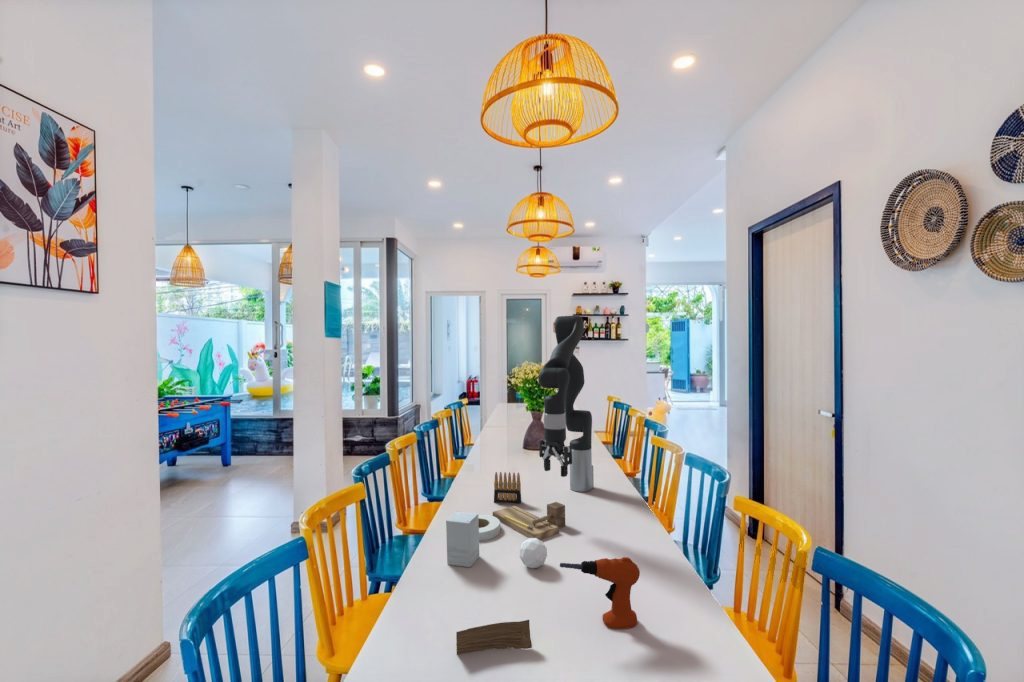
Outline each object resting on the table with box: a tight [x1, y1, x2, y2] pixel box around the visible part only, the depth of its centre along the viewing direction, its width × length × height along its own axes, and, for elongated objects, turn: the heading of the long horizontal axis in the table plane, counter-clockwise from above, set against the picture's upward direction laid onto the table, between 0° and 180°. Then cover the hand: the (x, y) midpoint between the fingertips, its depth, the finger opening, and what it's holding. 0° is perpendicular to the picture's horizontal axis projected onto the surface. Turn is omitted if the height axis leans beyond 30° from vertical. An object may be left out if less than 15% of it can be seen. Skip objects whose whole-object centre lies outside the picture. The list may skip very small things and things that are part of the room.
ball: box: [519, 538, 548, 569], centre depth 127 cm, size 8×8×8 cm
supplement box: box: [445, 511, 480, 568], centre depth 131 cm, size 7×7×13 cm
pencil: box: [504, 515, 533, 530], centre depth 152 cm, size 1×14×1 cm, turn 41°
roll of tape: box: [477, 513, 501, 541], centre depth 151 cm, size 16×15×3 cm
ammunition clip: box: [493, 471, 522, 505], centre depth 177 cm, size 11×2×12 cm, turn 82°
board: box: [492, 505, 559, 540], centre depth 155 cm, size 10×24×2 cm, turn 36°
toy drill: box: [559, 556, 641, 630], centre depth 101 cm, size 5×19×15 cm, turn 93°
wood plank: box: [455, 619, 533, 656], centre depth 93 cm, size 15×2×5 cm, turn 101°
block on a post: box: [532, 501, 566, 529], centre depth 152 cm, size 12×4×7 cm, turn 126°
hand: (555, 473), depth 155 cm, fingers open, 8 cm apart
